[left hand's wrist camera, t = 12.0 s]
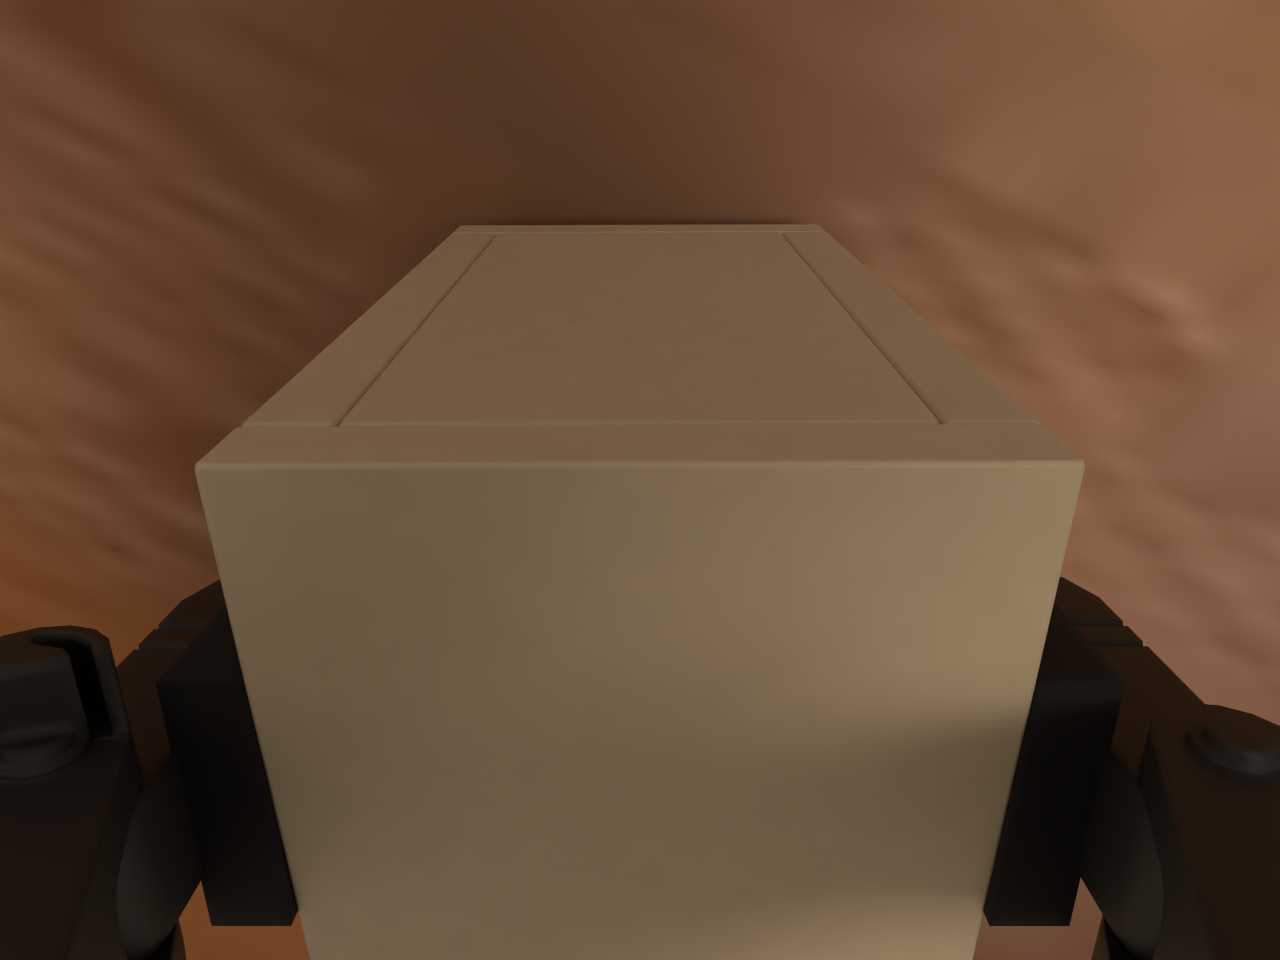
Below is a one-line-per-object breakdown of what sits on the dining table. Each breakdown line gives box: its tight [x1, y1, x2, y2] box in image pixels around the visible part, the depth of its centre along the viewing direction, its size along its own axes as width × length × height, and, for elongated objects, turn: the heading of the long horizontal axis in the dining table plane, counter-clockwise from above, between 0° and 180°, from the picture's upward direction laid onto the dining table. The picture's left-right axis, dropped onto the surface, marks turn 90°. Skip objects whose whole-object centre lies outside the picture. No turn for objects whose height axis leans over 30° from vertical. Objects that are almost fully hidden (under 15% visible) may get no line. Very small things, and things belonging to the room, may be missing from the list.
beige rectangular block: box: [195, 224, 1085, 960], centre depth 15 cm, size 17×7×11 cm, turn 0°
